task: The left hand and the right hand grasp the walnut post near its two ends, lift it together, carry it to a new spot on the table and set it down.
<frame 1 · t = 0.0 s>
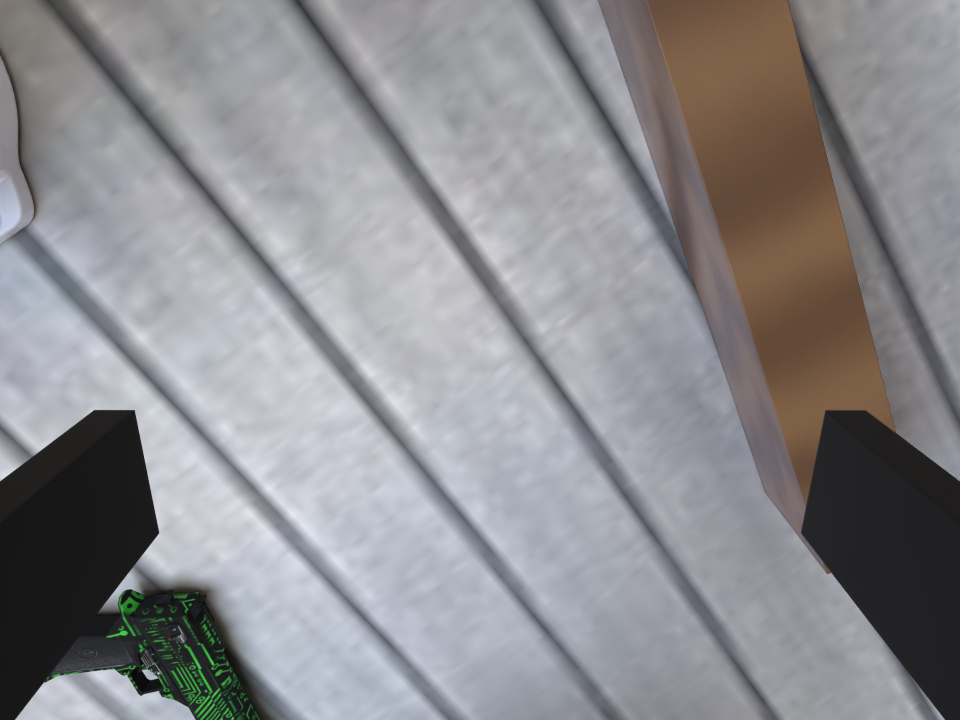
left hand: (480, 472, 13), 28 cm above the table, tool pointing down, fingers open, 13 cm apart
handgun: (159, 666, 50), on the table
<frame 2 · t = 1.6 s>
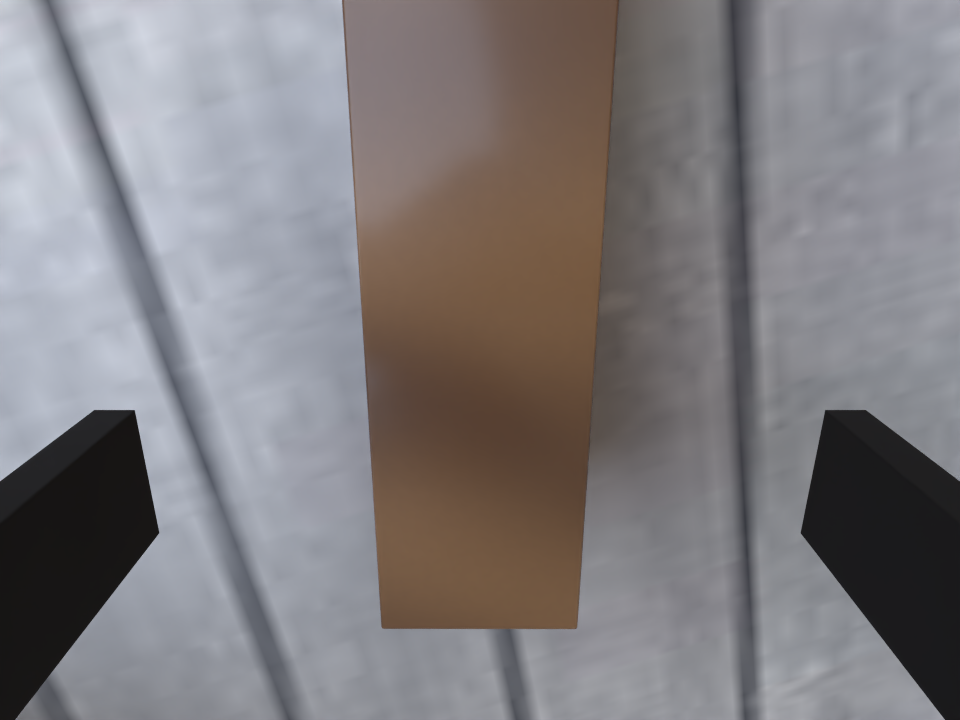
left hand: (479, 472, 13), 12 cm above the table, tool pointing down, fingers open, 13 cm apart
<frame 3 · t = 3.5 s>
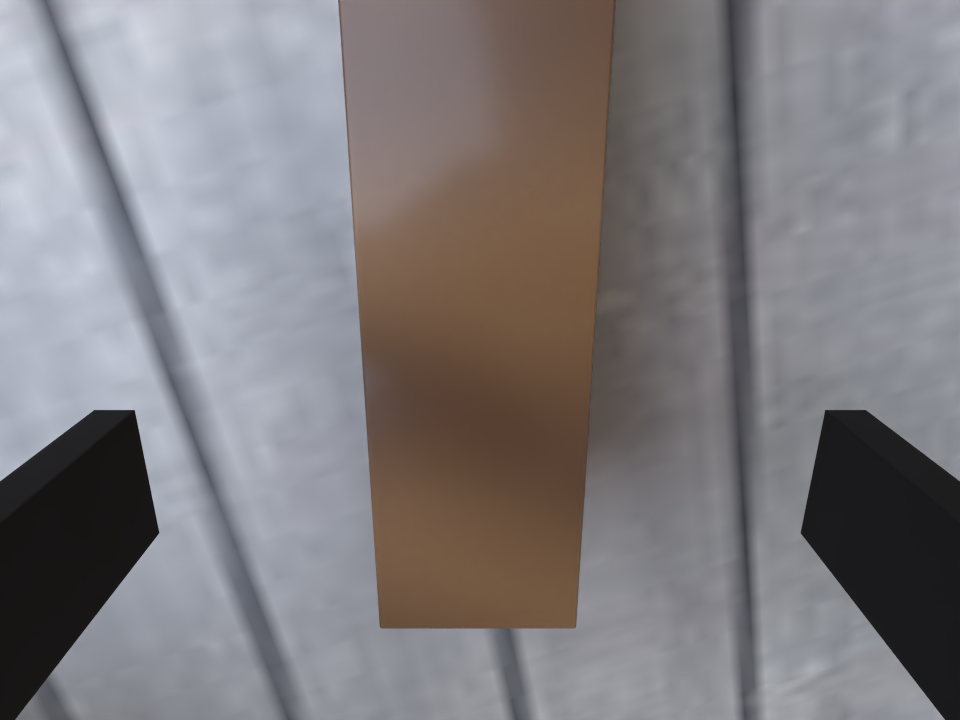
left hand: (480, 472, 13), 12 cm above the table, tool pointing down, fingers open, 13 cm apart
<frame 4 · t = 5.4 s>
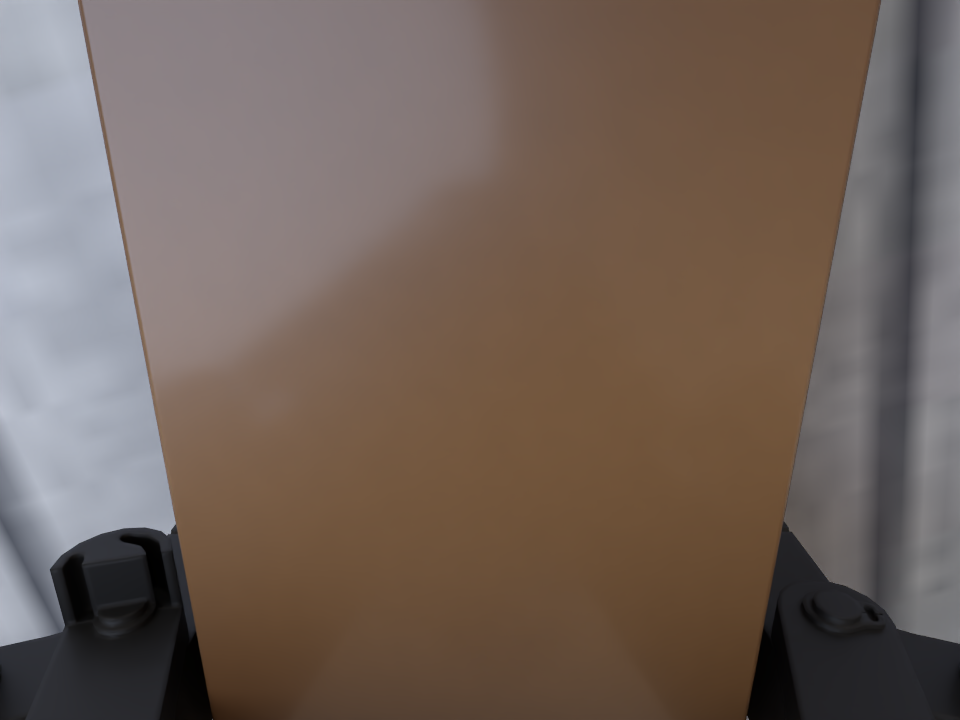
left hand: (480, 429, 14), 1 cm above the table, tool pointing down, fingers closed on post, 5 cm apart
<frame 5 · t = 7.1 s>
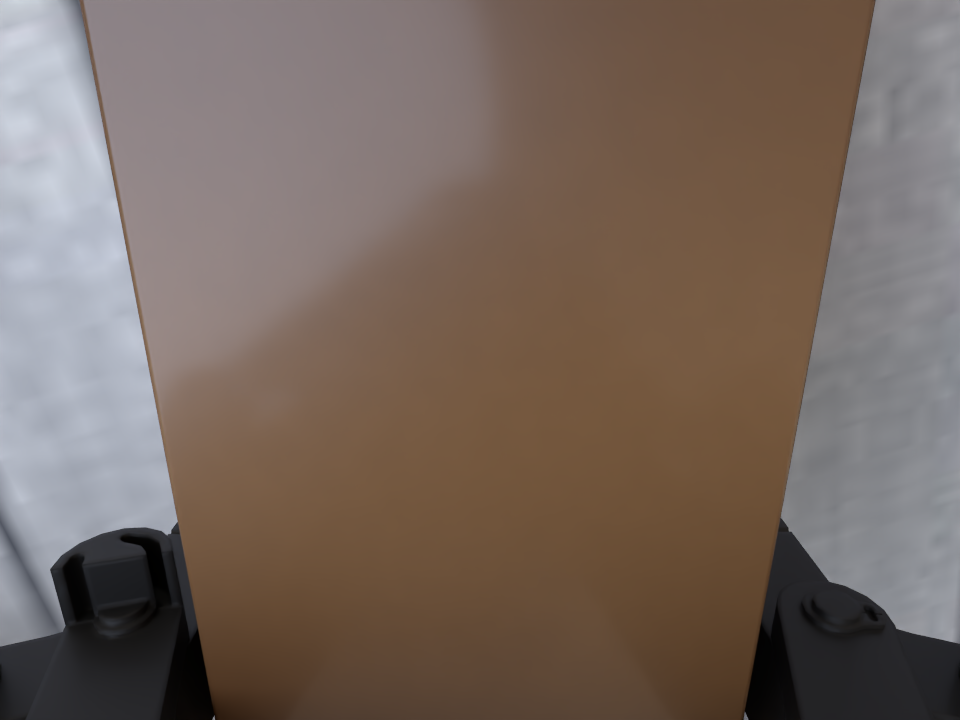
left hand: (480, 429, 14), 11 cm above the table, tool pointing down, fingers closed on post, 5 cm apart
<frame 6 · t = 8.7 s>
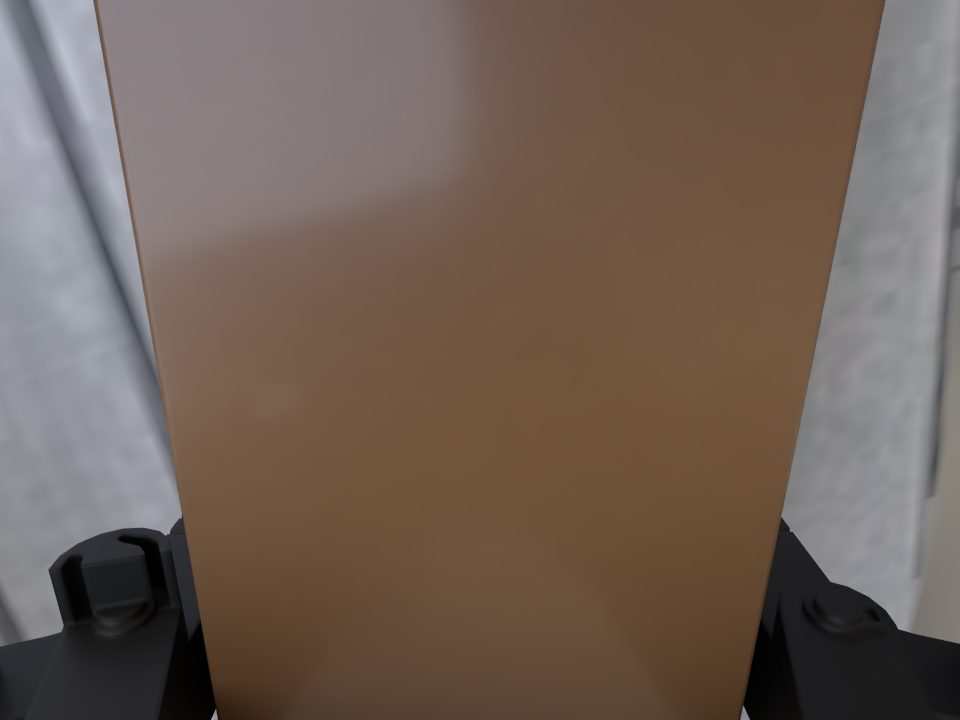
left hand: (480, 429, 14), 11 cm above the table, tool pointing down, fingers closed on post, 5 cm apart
when the left hand's fingers open (2 cm above the table, at t = 10.4 s): post drops 1 cm, held by the right hand.
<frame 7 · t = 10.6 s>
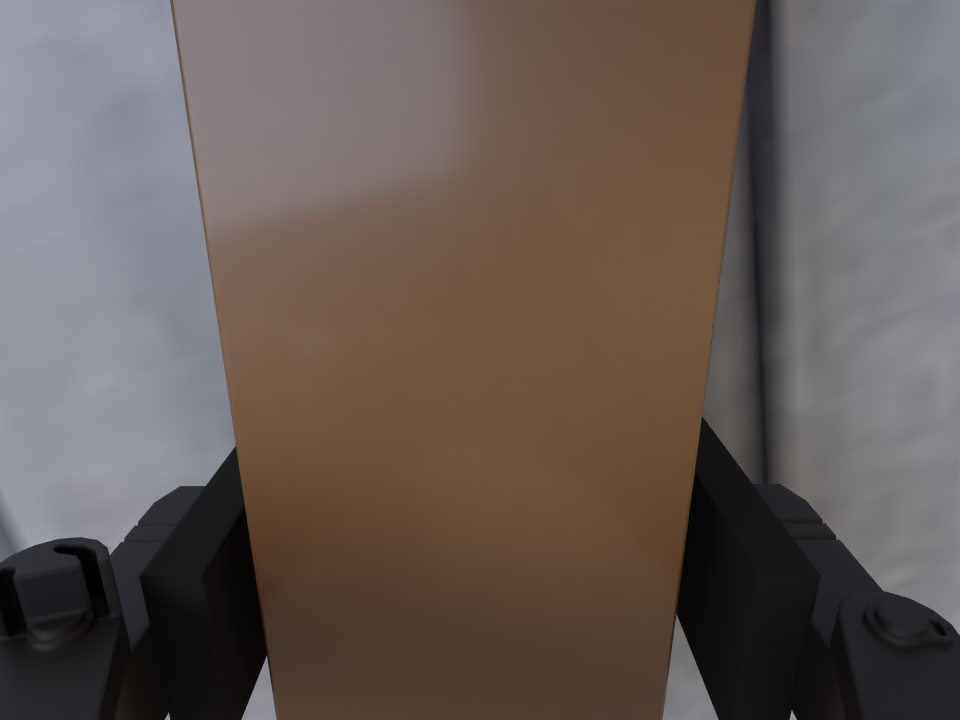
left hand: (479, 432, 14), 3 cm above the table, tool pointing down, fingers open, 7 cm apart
when the right hand's fingers open (5 cm above the table, at t = 10.7 s): post stays where it is, on the table.
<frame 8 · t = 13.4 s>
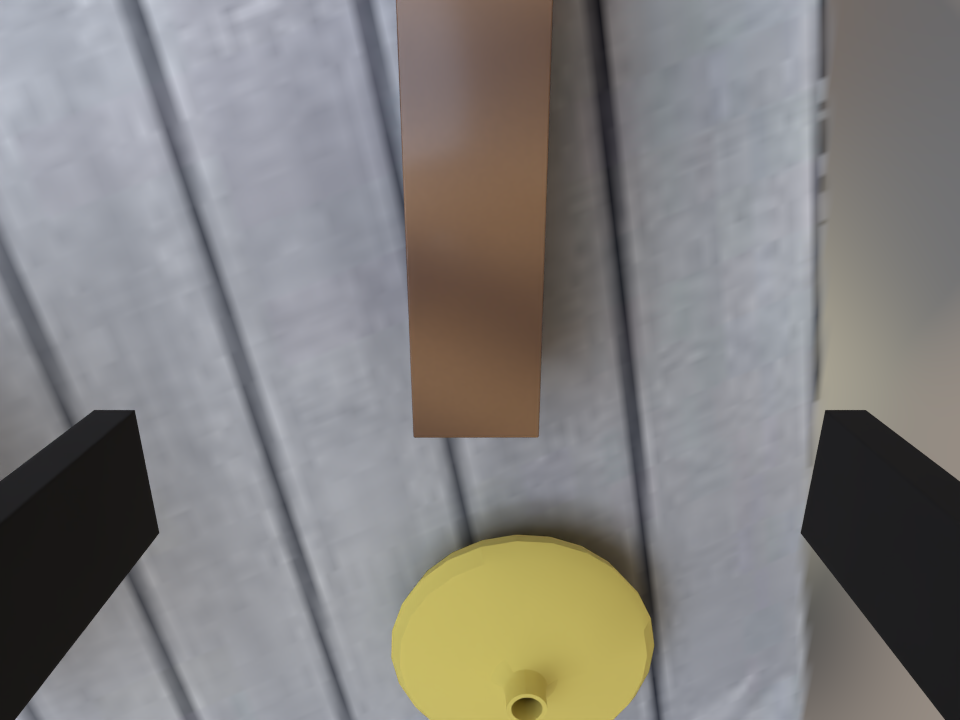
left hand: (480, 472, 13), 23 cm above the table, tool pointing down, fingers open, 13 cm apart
yellow round disc: (519, 614, 42), on the table
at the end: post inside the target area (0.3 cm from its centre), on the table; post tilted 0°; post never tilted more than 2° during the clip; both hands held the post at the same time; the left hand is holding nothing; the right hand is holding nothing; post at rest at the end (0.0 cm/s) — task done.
